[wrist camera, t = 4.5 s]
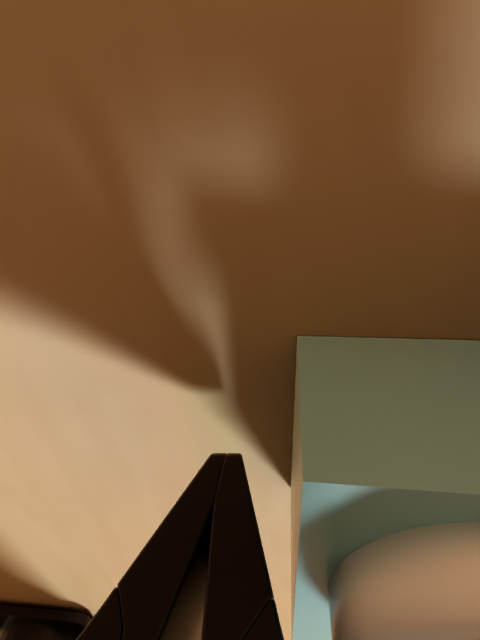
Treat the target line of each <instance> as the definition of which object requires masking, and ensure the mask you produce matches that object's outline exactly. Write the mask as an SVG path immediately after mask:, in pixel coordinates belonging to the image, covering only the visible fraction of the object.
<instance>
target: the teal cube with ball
mask: <svg viewBox="0 0 480 640" xmlns="http://www.w3.org/2000/svg"><path fill="white" fill-rule="evenodd" d="M291 606H292V640H480V340H446V339H406V338H365V337H325V336H297V352H296V376H295V399H294V423H293V447H292V471H291Z"/></svg>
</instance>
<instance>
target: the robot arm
mask: <svg viewBox="0 0 480 640" xmlns="http://www.w3.org/2000/svg"><path fill="white" fill-rule="evenodd" d="M0 640H284V637H283V633H282V630H281V626H280V622H279V617H278V613H277V608H276V604H275V601H274V596H273V591H272V587H271V583H270V578H269V574H268V569H267V565H266V560H265V556H264V551H263V547H262V543H261V538H260V534H259V529H258V525H257V520H256V516H255V511H254V507H253V502H252V498H251V494H250V489H249V485H248V480H247V476H246V471H245V467H244V462H243V458H242V455H241V454H240V453H228V454H226V453H213V454H211V455H210V456H209V458H208V459H207V460H206V462H205V463H204V465H203V466H202V467H201V469H200V470H199V471H198V473H197V474H196V476H195V477H194V478H193V480H192V481H191V483H190V484H189V485H188V487H187V488H186V490H185V491H184V492H183V494H182V495H181V497H180V498H179V499H178V501H177V502H176V504H175V505H174V506H173V508H172V509H171V510H170V512H169V513H168V515H167V516H166V517H165V519H164V520H163V522H162V523H161V524H160V526H159V527H158V529H157V530H156V531H155V533H154V534H153V536H152V537H151V538H150V540H149V541H148V543H147V544H146V545H145V547H144V548H143V549H142V551H141V552H140V554H139V555H138V556H137V558H136V559H135V561H134V562H133V563H132V565H131V566H130V568H129V569H128V570H127V572H126V573H125V575H124V576H123V577H122V579H121V580H120V581H119V583H118V588H117V587H116V588H114V590H113V591H112V592H111V594H110V595H109V597H108V598H107V599H106V601H105V602H104V604H103V605H102V606H101V608H100V609H99V610H98V612H97V613H96V614H95V616H94V617H93V618H92V620H91V619H90V617H89V616H87V615H85V614H82V613H77V612H67V611H56V610H46V609H35V608H25V607H15V606H4V605H0Z"/></svg>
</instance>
